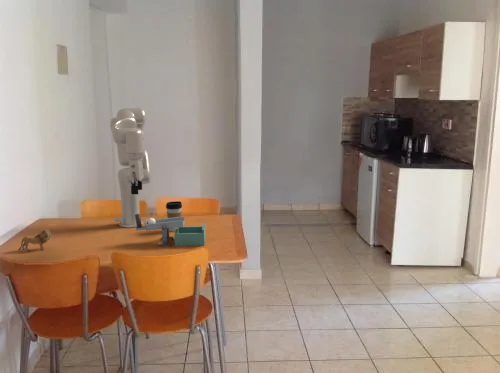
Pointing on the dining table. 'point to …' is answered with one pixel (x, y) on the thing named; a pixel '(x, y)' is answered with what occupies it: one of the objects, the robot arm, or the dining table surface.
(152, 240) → the dining table surface
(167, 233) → the chute stand
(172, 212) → the coffee cup
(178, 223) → the chute
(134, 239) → the dining table surface
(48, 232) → the lion figurine
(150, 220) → the ball
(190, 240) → the bin
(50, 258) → the dining table surface
